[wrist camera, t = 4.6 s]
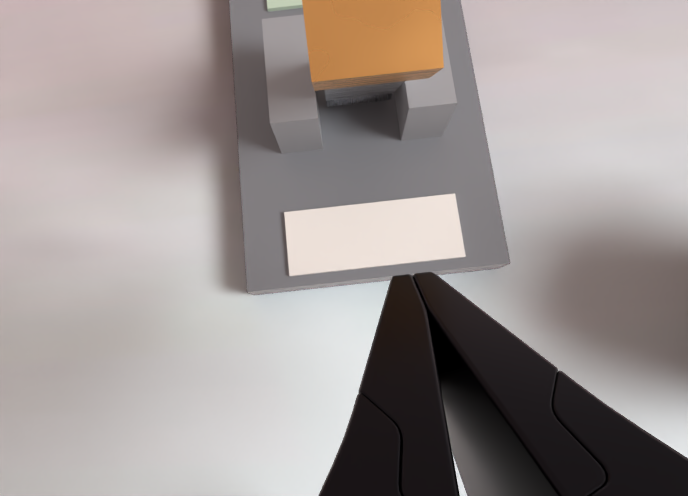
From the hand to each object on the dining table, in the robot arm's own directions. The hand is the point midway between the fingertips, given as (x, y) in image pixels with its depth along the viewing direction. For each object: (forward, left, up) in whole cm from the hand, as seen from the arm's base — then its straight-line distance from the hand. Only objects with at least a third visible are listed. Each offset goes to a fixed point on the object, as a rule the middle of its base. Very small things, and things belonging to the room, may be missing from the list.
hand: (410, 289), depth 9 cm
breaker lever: (+8, +7, -9) cm, 14 cm away
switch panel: (+8, +7, -12) cm, 16 cm away
